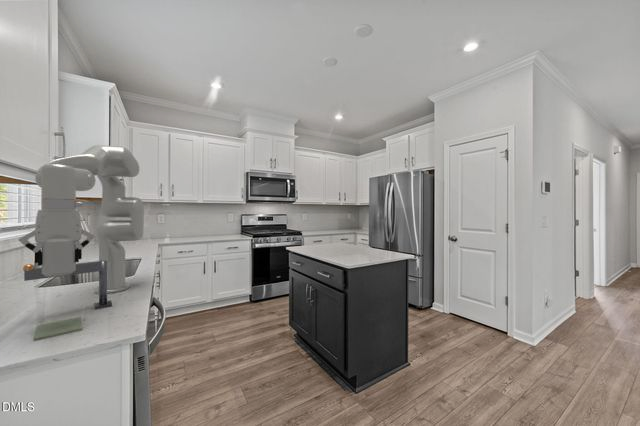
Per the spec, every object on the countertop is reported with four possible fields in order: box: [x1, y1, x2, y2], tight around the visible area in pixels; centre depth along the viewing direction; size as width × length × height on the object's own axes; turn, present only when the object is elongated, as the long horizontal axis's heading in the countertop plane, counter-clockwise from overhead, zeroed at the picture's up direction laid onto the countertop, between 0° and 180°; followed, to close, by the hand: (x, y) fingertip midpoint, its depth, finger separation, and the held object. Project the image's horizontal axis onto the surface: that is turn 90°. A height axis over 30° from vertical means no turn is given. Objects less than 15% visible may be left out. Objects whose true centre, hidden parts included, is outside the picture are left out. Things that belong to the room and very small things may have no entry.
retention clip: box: [22, 260, 108, 304], centre depth 94 cm, size 22×3×17 cm, turn 138°
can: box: [41, 236, 77, 278], centre depth 82 cm, size 8×8×12 cm
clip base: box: [93, 300, 113, 310], centre depth 101 cm, size 5×5×1 cm
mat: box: [33, 316, 83, 341], centre depth 82 cm, size 12×10×1 cm
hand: (59, 263), depth 82 cm, fingers closed on can, 7 cm apart
